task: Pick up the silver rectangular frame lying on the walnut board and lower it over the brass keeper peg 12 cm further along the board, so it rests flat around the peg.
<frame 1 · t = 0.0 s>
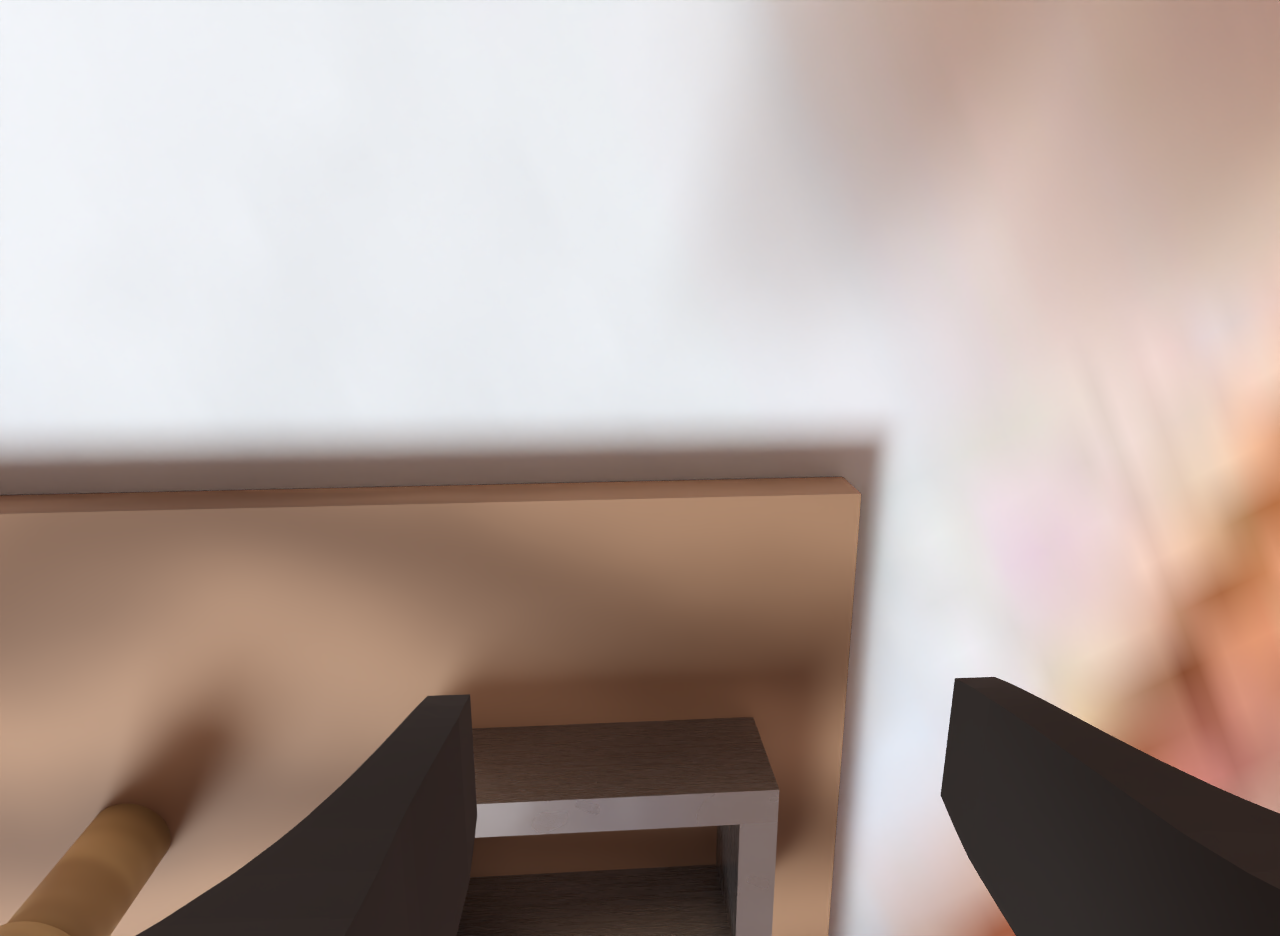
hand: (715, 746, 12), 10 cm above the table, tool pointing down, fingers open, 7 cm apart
silver rectangular frame: (586, 813, 22), point 1 cm above the table, touching keeper board
keeper board: (412, 786, 23), on the table
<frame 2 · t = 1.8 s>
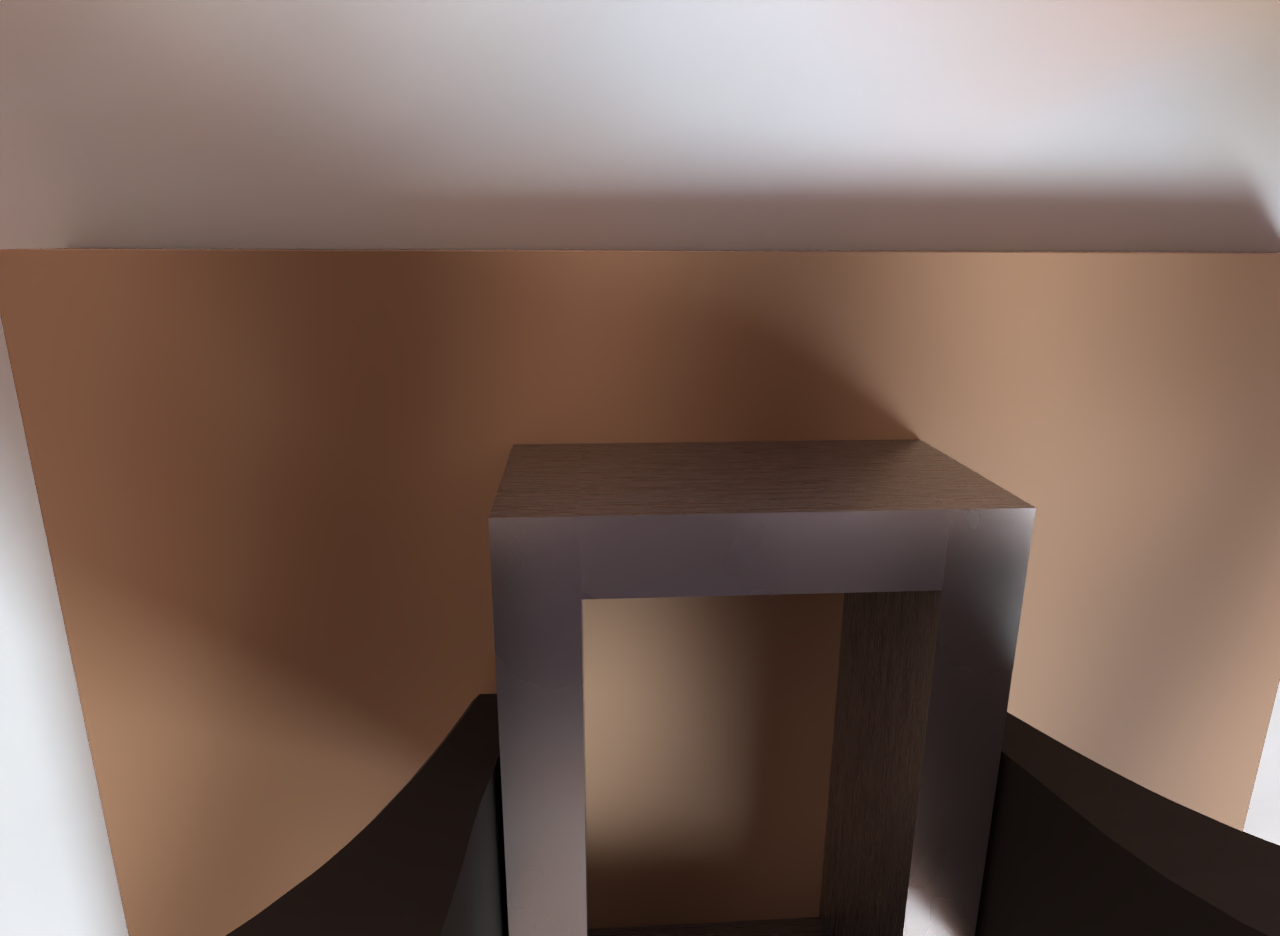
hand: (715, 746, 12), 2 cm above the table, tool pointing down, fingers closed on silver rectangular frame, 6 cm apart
silver rectangular frame: (710, 730, 12), point 1 cm above the table, touching gripper, keeper board
keeper board: (691, 918, 15), on the table
when the fingers open (4 cm above the table, at t = 6.3 s): silver rectangular frame drops 2 cm, resting on keeper board.
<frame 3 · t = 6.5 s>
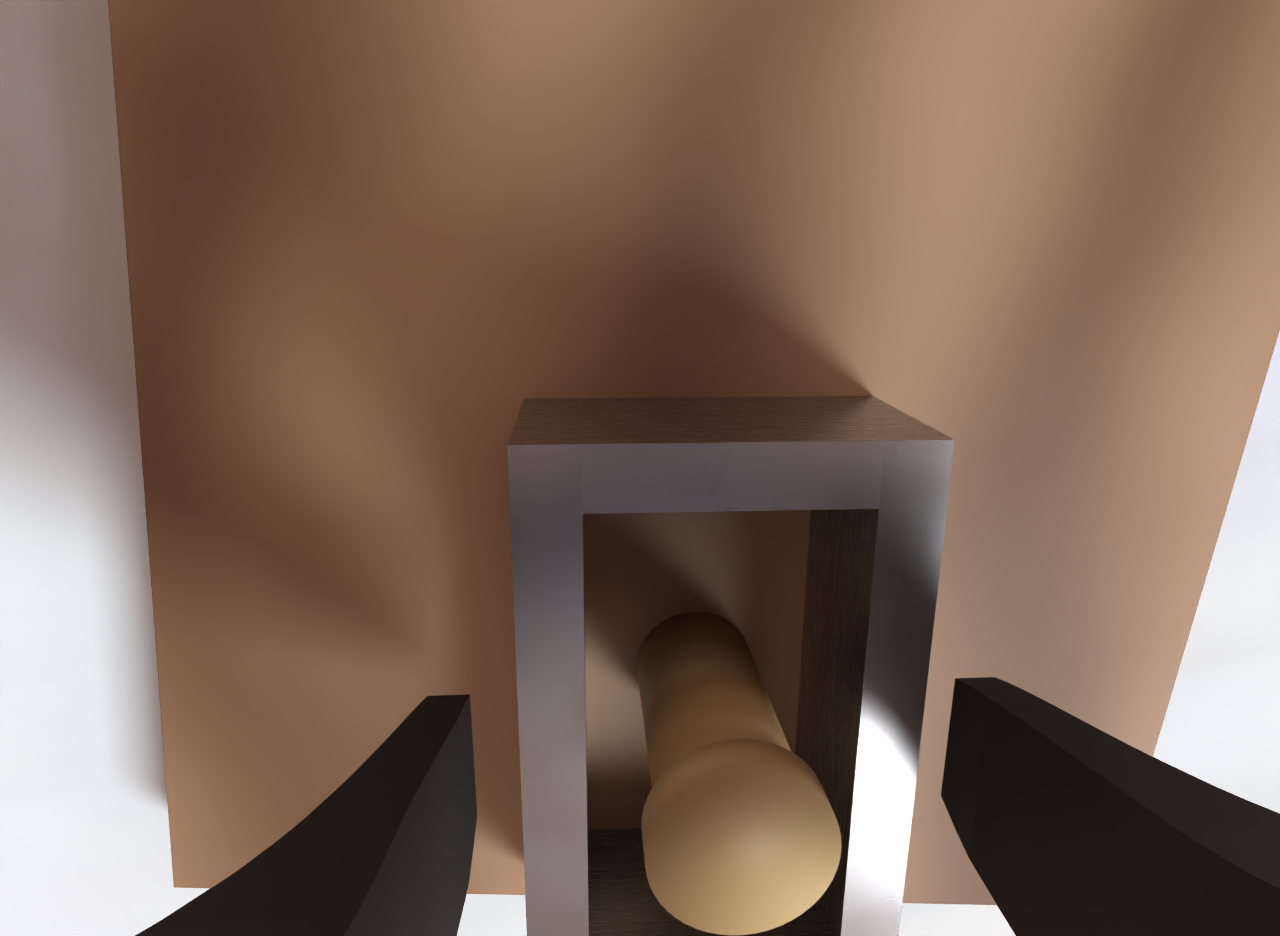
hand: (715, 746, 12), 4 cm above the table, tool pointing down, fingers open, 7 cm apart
silver rectangular frame: (694, 651, 14), point 1 cm above the table, touching keeper board
keeper board: (726, 250, 14), on the table
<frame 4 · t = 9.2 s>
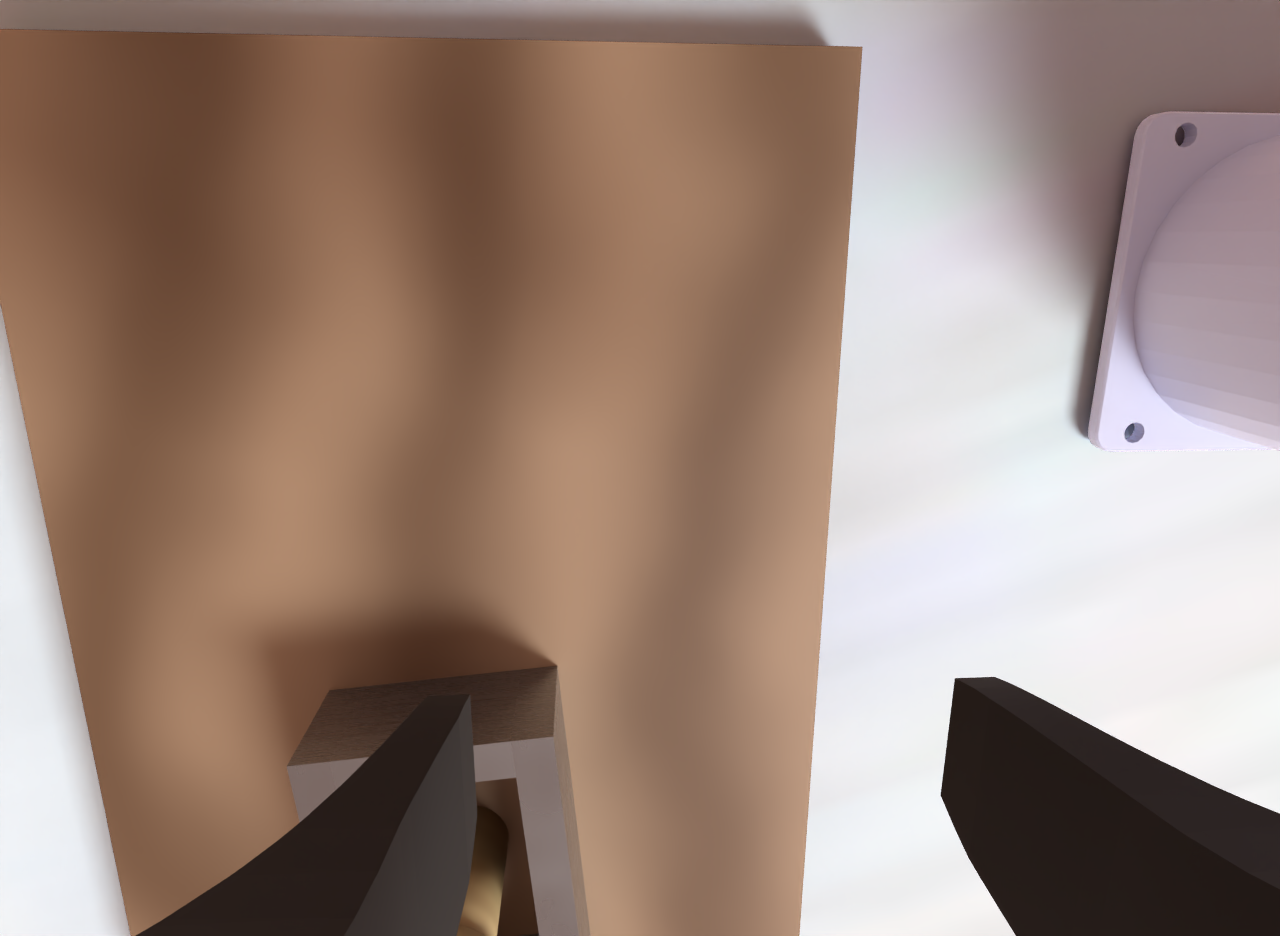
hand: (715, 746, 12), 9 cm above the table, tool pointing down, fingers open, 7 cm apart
silver rectangular frame: (469, 829, 21), point 1 cm above the table, touching keeper board
keeper board: (463, 567, 21), on the table
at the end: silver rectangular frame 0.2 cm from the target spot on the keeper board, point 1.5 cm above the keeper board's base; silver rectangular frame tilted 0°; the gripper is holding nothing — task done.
